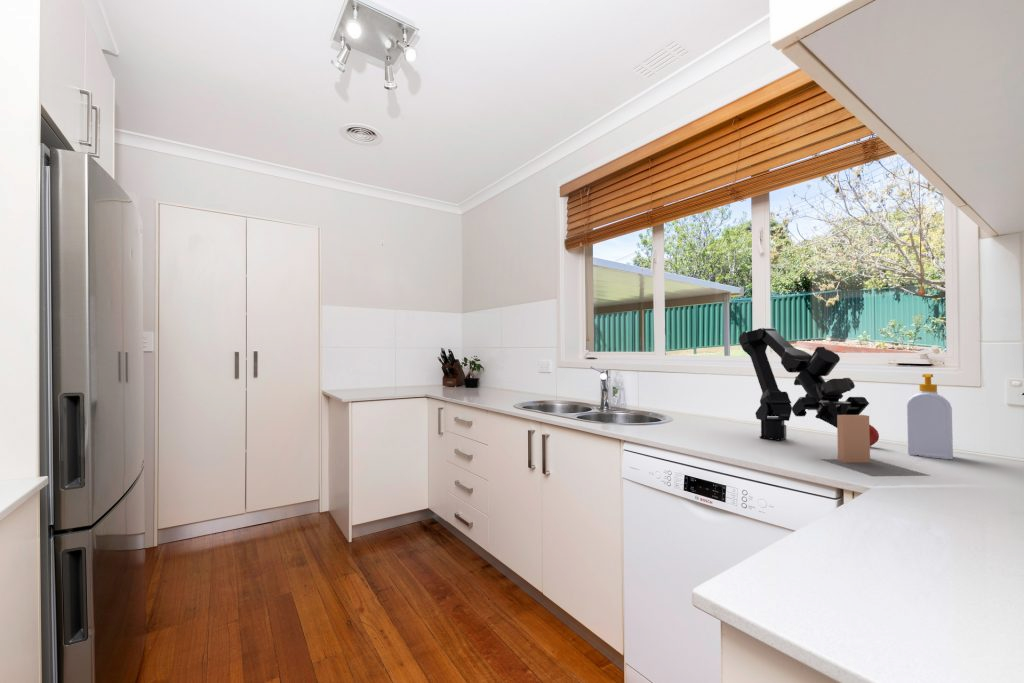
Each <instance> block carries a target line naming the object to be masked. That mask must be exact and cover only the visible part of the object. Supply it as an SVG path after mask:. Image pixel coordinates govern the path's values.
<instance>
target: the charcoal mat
mask: <svg viewBox="0 0 1024 683" xmlns="http://www.w3.org/2000/svg"><path fill="white" fill-rule="evenodd" d="M821 460H822V461H824V462H828V463H831V464H834V465H837V466H840V467H842V468H846V469H849V470H852V471H856V472H858V473H862V474H863V475H868V476H871V477H911V476H912V477H916V476H917V477H924V476H925V477H927V476H928V477H929V476H931V474H927V473H924V472H921V471H916V470H912V469H909V468H906V467H901V466H899V465H895V464H891V463H888V462H883V461H879V460H876V459H873V458H870V462H849V463H844V462H841V461H838V458H823V459H822V458H820V461H821Z"/></svg>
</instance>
